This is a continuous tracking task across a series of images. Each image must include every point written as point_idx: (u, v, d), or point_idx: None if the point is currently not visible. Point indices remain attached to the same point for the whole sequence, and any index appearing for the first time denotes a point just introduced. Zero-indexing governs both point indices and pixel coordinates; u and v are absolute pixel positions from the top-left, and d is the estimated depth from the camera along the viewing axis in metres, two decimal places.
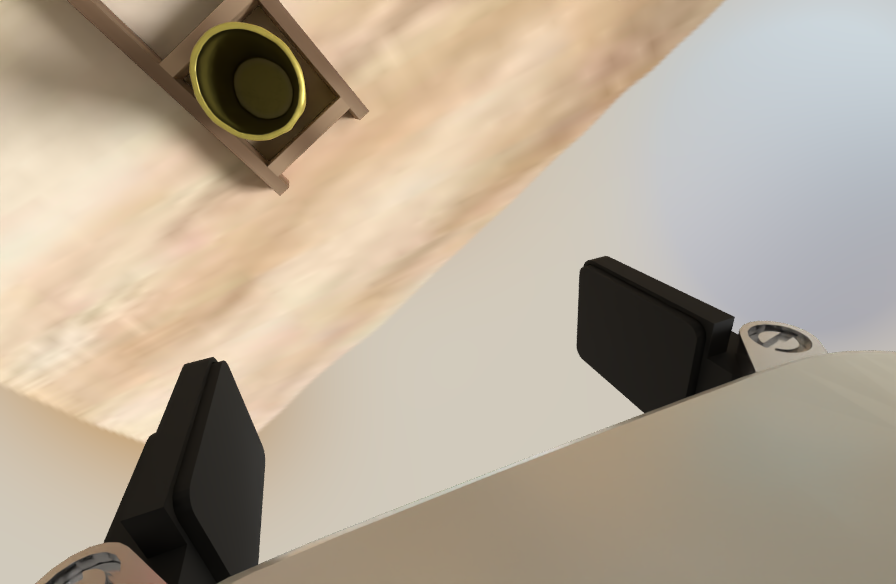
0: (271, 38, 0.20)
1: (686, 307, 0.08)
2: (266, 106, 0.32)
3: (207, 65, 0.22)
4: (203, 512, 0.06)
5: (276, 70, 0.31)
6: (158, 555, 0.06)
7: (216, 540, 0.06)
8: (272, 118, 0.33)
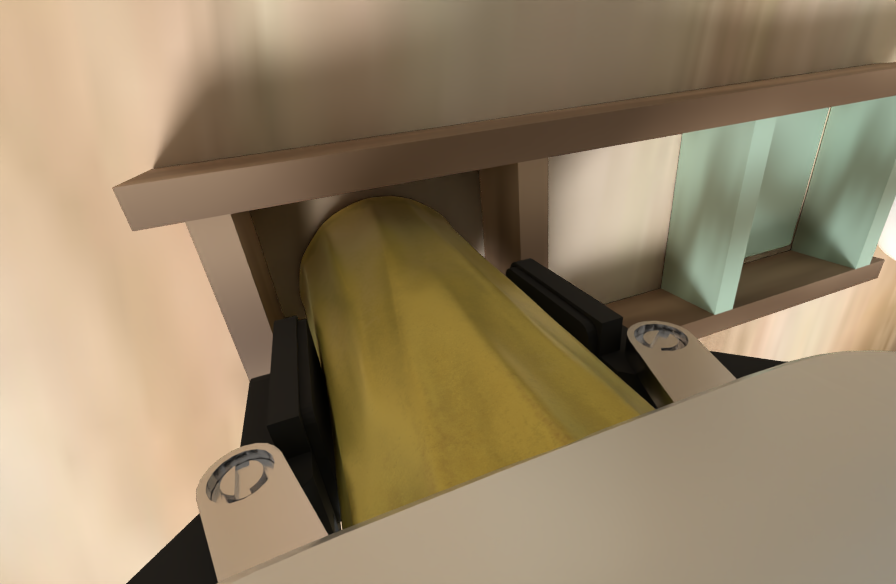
0: None
1: (583, 307, 0.09)
2: None
3: None
4: (319, 428, 0.07)
5: None
6: (290, 458, 0.07)
7: (327, 453, 0.07)
8: None
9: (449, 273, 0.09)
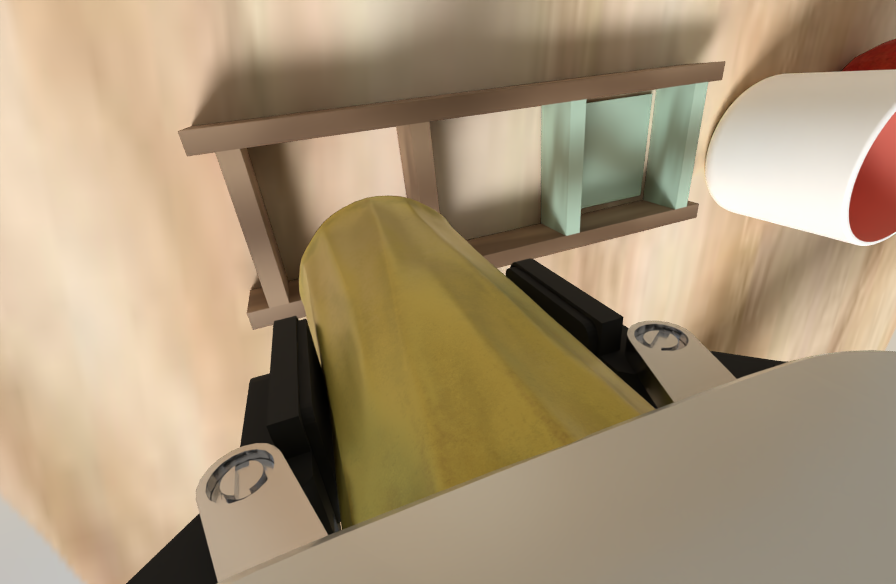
0: None
1: (583, 307, 0.09)
2: None
3: None
4: (319, 428, 0.07)
5: None
6: (290, 458, 0.07)
7: (327, 453, 0.07)
8: None
9: (449, 273, 0.09)
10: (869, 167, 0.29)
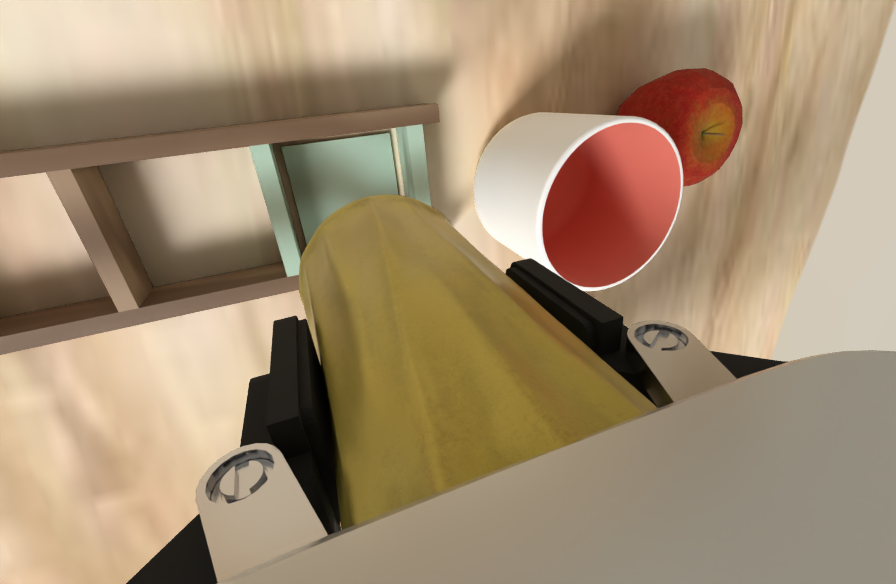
0: None
1: (583, 307, 0.09)
2: None
3: None
4: (319, 428, 0.07)
5: None
6: (290, 458, 0.07)
7: (327, 453, 0.07)
8: None
9: (449, 271, 0.09)
10: (627, 207, 0.29)
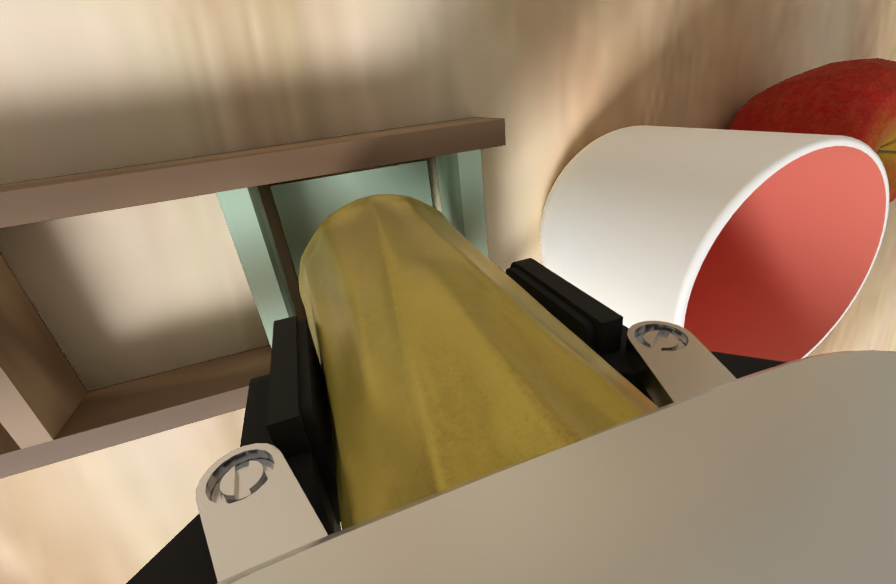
0: None
1: (583, 307, 0.09)
2: None
3: None
4: (319, 428, 0.07)
5: None
6: (290, 458, 0.07)
7: (327, 453, 0.07)
8: None
9: (450, 270, 0.09)
10: (763, 258, 0.20)
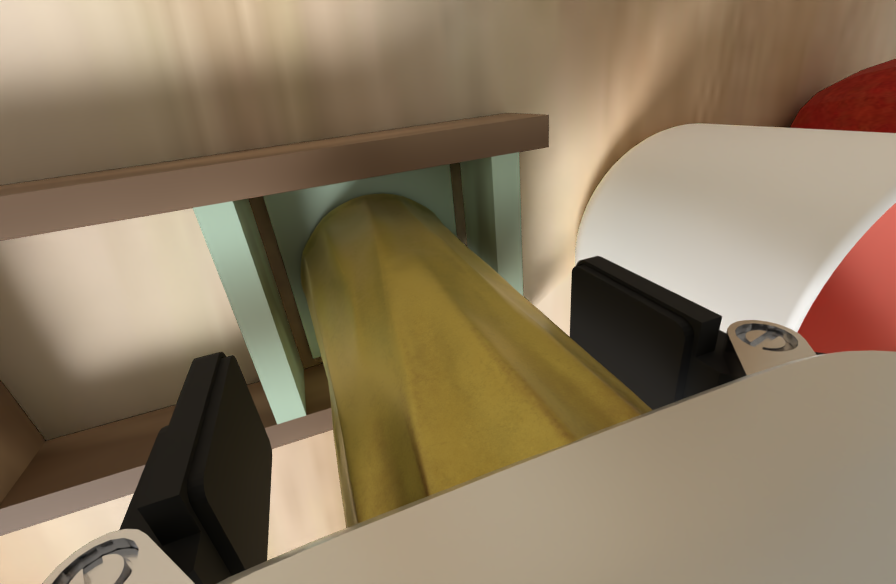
0: None
1: (675, 306, 0.08)
2: None
3: None
4: (216, 501, 0.06)
5: None
6: (173, 542, 0.06)
7: (228, 528, 0.06)
8: None
9: (432, 257, 0.10)
10: (840, 279, 0.17)
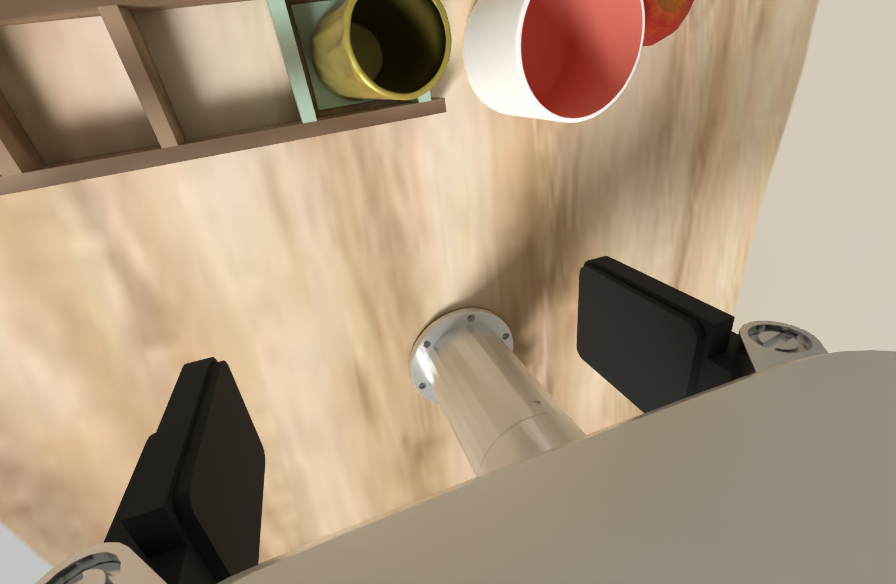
0: (422, 89, 0.21)
1: (686, 307, 0.08)
2: None
3: (419, 16, 0.22)
4: (203, 512, 0.06)
5: None
6: (158, 555, 0.06)
7: (216, 540, 0.06)
8: None
9: None
10: (600, 58, 0.32)
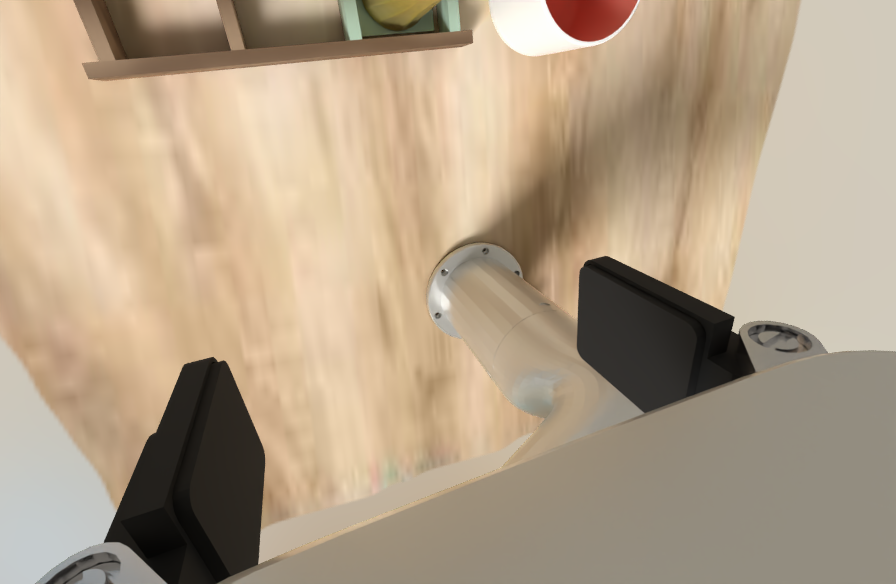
0: None
1: (686, 307, 0.08)
2: None
3: None
4: (203, 512, 0.06)
5: None
6: (158, 555, 0.06)
7: (216, 540, 0.06)
8: None
9: None
10: (609, 0, 0.37)
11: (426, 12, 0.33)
